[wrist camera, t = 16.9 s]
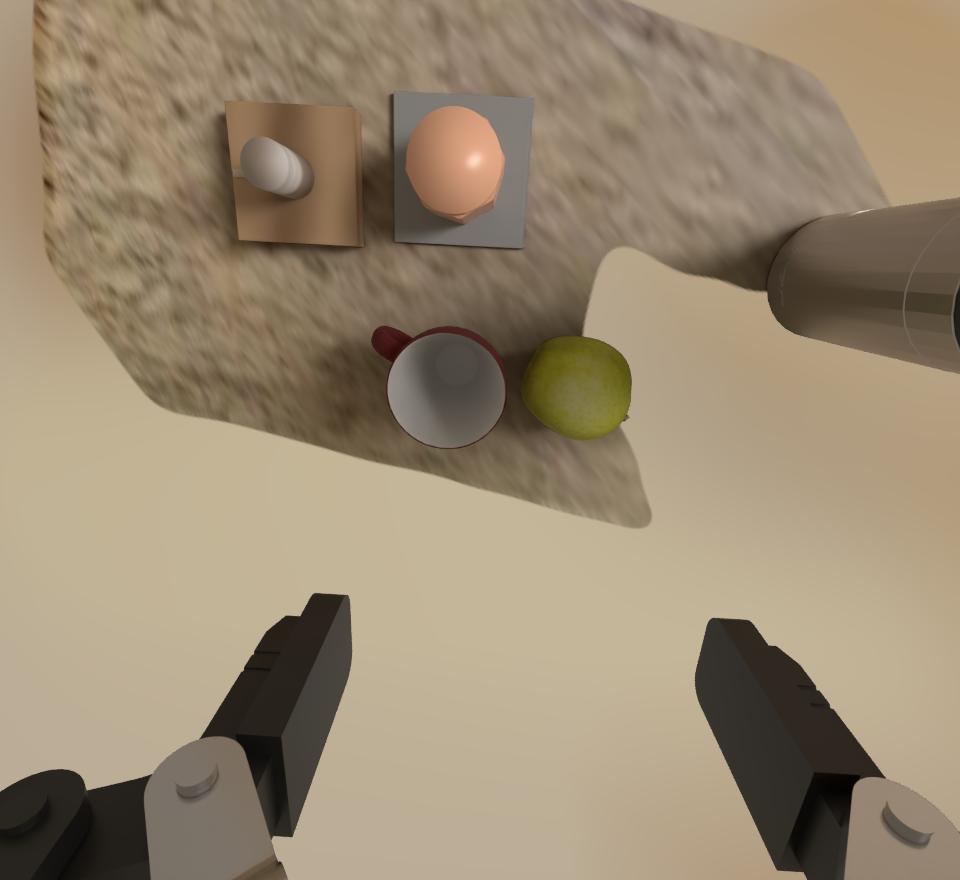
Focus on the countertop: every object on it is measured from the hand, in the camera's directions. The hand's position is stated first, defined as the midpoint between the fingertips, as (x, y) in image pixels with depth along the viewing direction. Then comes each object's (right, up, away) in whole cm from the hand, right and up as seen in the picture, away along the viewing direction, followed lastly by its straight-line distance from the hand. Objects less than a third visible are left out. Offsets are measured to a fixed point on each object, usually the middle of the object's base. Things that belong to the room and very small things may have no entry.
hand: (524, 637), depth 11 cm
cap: (-2, +24, +26) cm, 36 cm away
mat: (-2, +24, +27) cm, 36 cm away
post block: (-14, +24, +27) cm, 39 cm away
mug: (-4, +11, +31) cm, 34 cm away
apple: (+7, +10, +32) cm, 34 cm away
